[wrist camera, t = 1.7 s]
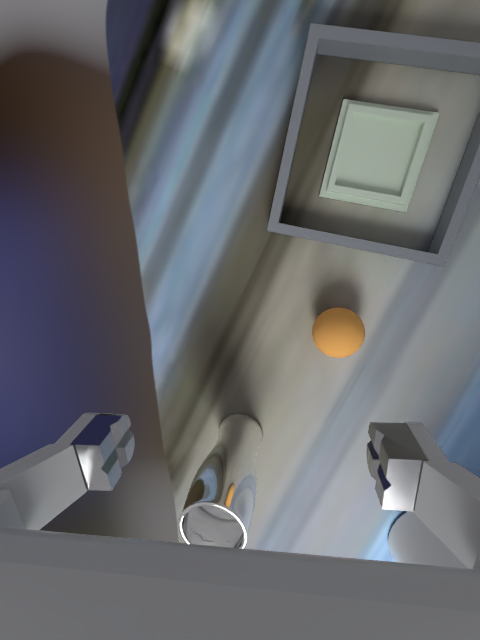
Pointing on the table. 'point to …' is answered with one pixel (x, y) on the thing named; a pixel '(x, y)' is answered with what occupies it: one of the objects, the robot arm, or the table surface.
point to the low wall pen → (394, 51)
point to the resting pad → (377, 154)
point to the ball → (338, 332)
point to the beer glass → (224, 488)
